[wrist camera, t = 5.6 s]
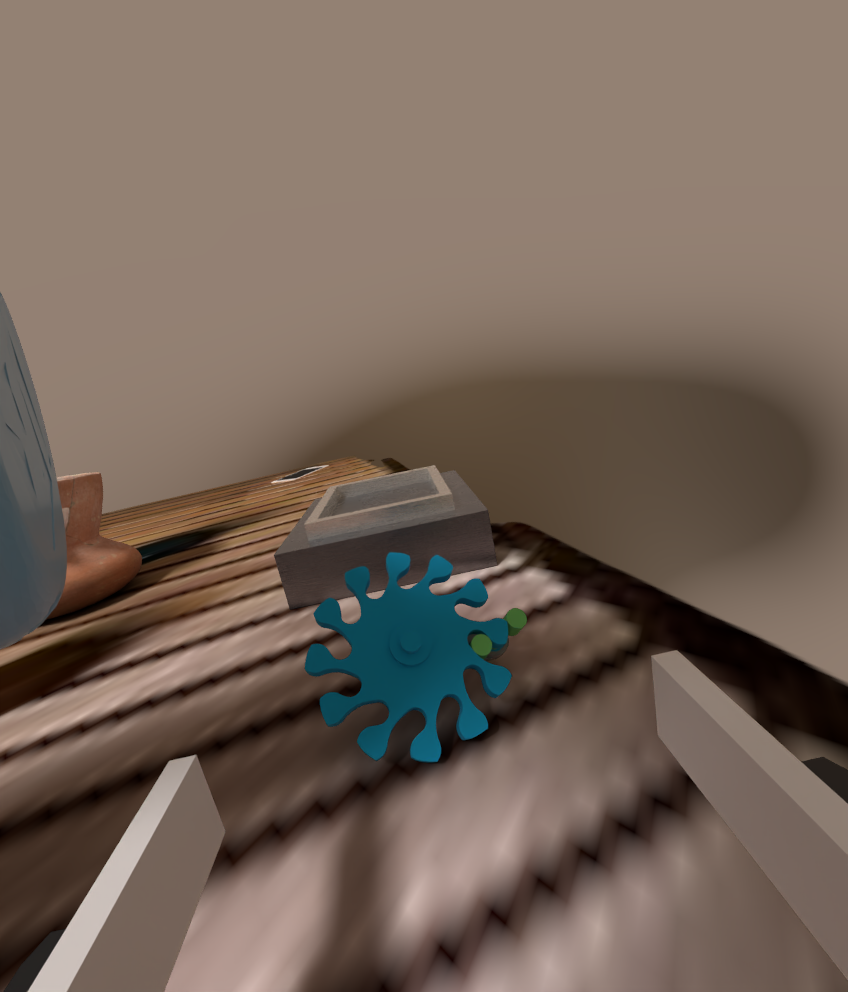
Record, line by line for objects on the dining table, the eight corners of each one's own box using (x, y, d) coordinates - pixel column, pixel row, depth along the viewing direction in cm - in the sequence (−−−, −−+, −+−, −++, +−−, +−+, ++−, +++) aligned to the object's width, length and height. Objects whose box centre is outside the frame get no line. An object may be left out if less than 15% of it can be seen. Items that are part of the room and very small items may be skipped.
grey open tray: (290, 609, 37) (268, 537, 36) (324, 536, 57) (311, 487, 55) (497, 565, 38) (485, 492, 36) (461, 507, 57) (452, 458, 56)
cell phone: (330, 467, 125) (329, 464, 125) (295, 481, 111) (294, 479, 111) (308, 470, 128) (307, 468, 128) (271, 484, 114) (270, 482, 114)
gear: (304, 786, 17) (300, 556, 23) (321, 786, 22) (315, 598, 28) (566, 736, 19) (506, 534, 24) (528, 747, 24) (485, 576, 29)
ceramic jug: (115, 616, 44) (64, 477, 41) (-56, 660, 41) (-124, 515, 38) (170, 561, 61) (137, 461, 58) (53, 590, 58) (12, 486, 55)
